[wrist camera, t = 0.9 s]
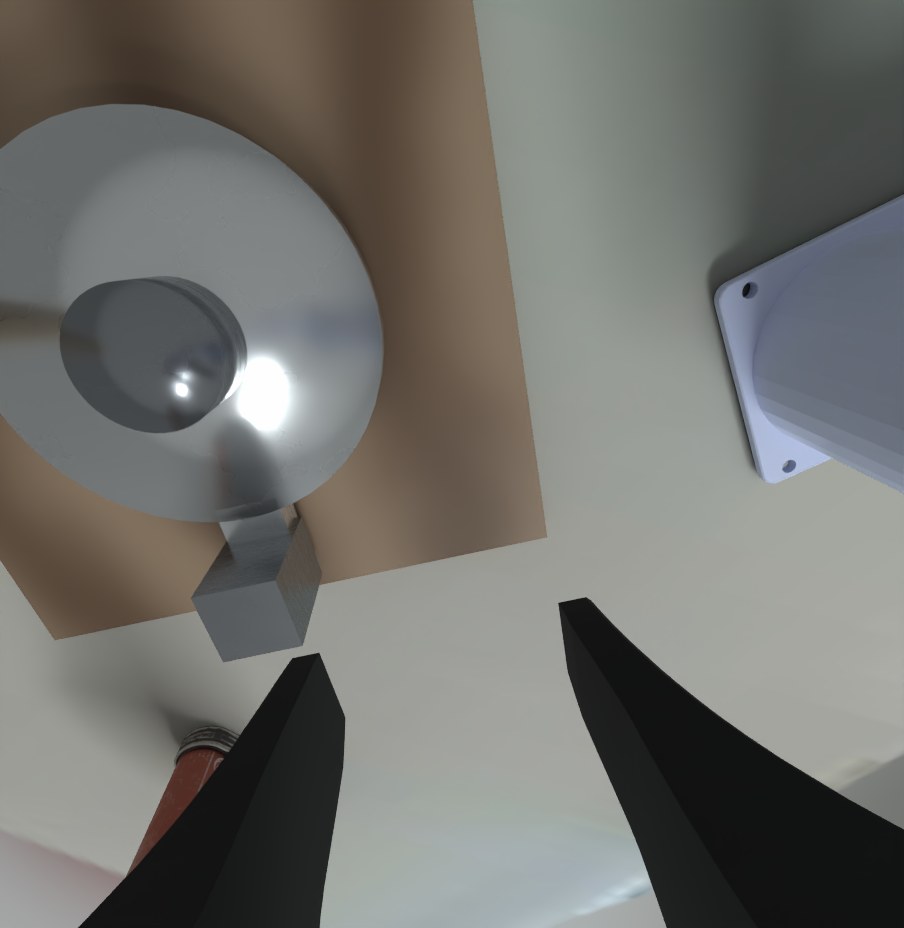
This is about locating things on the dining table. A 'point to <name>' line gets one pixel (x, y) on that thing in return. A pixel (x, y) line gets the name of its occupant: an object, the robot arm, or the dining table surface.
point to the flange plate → (217, 237)
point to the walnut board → (383, 249)
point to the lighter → (186, 780)
